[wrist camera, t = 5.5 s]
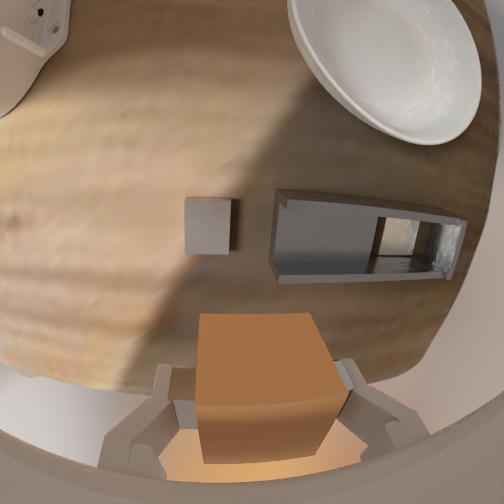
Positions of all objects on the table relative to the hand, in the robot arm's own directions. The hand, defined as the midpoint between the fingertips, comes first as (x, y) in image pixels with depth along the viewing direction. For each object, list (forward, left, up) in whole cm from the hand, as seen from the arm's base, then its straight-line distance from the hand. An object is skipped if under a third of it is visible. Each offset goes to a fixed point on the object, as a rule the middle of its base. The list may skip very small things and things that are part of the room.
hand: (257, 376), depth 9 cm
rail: (0, +14, -18) cm, 22 cm away
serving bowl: (-20, +13, -18) cm, 30 cm away
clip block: (0, 0, -1) cm, 1 cm away
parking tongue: (0, -2, -18) cm, 18 cm away
